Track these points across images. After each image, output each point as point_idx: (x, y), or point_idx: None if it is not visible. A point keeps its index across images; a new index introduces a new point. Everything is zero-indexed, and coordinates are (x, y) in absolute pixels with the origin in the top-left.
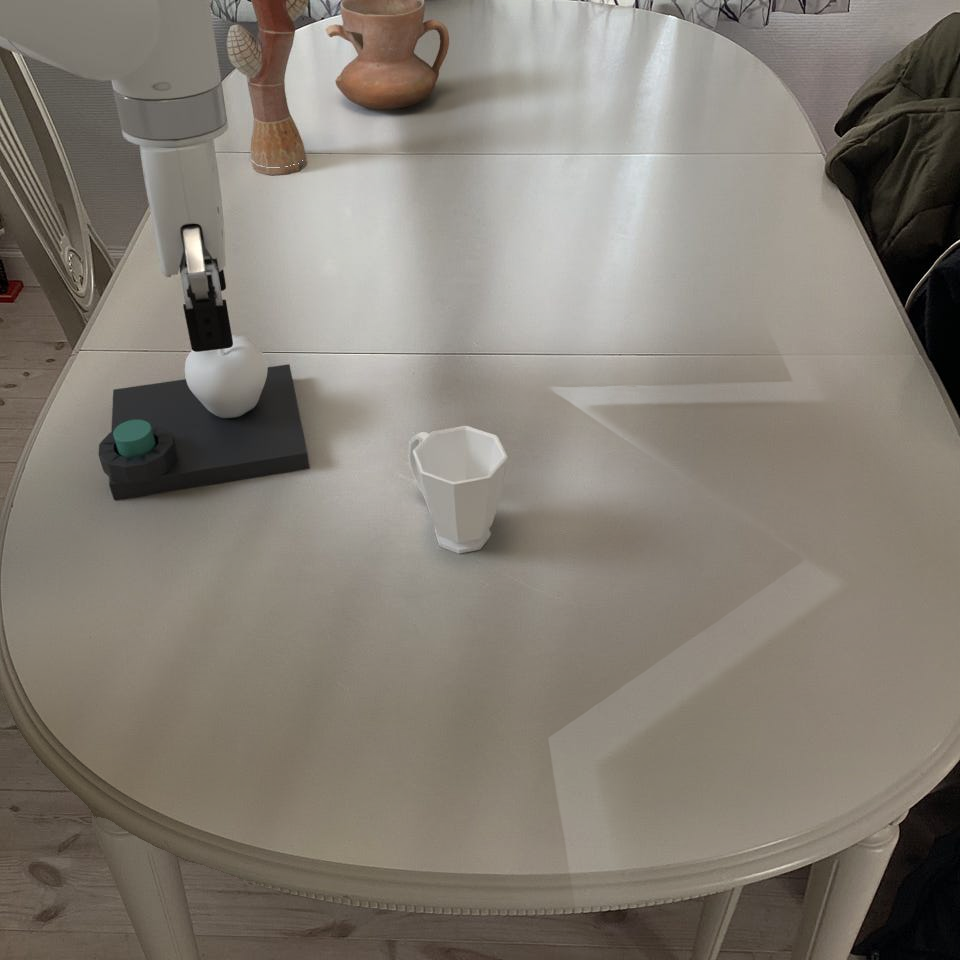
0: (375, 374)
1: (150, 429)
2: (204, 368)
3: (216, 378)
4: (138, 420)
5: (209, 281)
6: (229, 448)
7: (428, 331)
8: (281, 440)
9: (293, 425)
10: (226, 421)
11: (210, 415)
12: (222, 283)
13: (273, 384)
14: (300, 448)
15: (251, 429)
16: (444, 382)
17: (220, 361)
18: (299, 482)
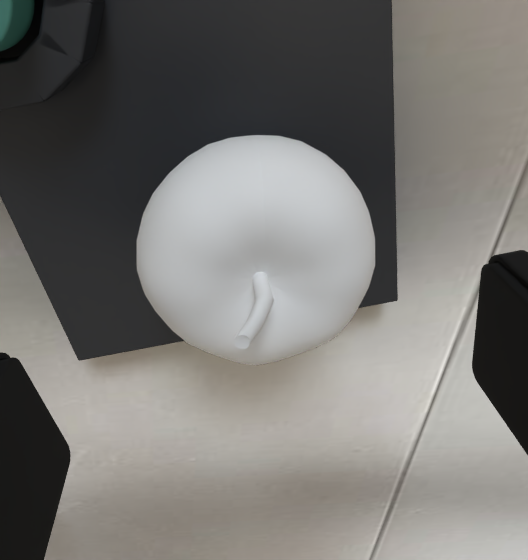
0: (367, 405)
1: None
2: (169, 247)
3: (141, 273)
4: (2, 3)
5: (500, 364)
6: (77, 219)
7: (473, 461)
8: (115, 315)
9: (168, 331)
10: None
11: None
12: (486, 391)
13: None
14: (90, 349)
15: None
16: (322, 484)
17: (183, 301)
18: (44, 325)
